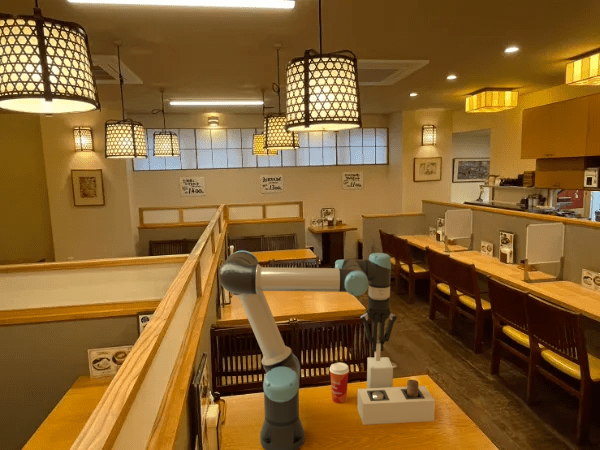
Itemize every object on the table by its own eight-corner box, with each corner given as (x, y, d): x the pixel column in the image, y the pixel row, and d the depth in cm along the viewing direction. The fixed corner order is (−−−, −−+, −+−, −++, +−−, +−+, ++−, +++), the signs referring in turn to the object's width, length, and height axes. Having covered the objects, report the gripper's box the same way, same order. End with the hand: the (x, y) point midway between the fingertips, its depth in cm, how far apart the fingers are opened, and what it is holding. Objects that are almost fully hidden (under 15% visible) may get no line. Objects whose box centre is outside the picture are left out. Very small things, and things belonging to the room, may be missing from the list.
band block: (363, 424, 148) (363, 404, 146) (357, 408, 158) (357, 388, 156) (434, 421, 149) (434, 400, 148) (424, 405, 159) (424, 385, 158)
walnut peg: (408, 405, 151) (409, 385, 150) (405, 398, 155) (405, 379, 154) (419, 404, 151) (420, 385, 150) (415, 398, 155) (416, 379, 154)
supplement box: (393, 403, 160) (393, 367, 158) (369, 403, 160) (370, 367, 158) (388, 391, 169) (389, 356, 167) (366, 391, 169) (367, 356, 167)
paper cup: (326, 397, 166) (325, 364, 163) (342, 392, 169) (342, 360, 167) (335, 407, 158) (335, 373, 156) (352, 402, 162) (353, 368, 160)
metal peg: (373, 417, 151) (373, 397, 150) (371, 410, 155) (371, 391, 154) (384, 416, 151) (384, 397, 150) (381, 410, 155) (381, 391, 154)
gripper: (363, 300, 142) (361, 364, 146) (400, 299, 143) (398, 363, 146) (358, 293, 150) (357, 355, 153) (394, 293, 150) (392, 354, 154)
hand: (377, 359), depth 150 cm, fingers closed
